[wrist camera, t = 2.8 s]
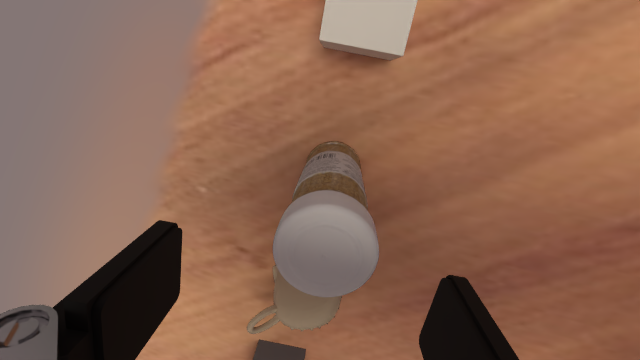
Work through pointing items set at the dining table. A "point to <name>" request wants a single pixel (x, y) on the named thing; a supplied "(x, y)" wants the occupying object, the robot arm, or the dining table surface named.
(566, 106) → the dining table surface
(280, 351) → the charcoal block
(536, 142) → the dining table surface
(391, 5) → the off-white block
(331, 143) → the sprinkles bottle
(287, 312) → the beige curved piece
